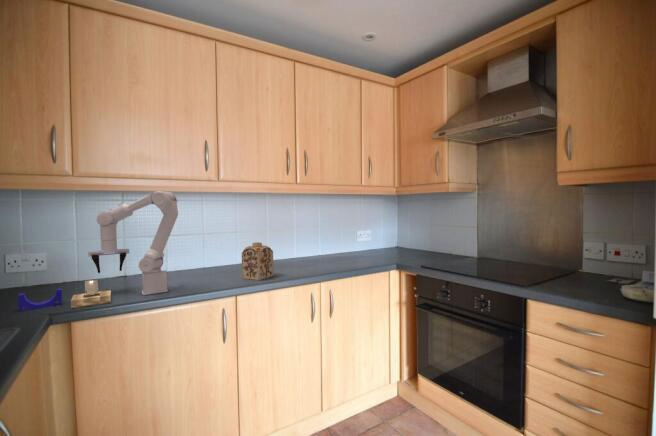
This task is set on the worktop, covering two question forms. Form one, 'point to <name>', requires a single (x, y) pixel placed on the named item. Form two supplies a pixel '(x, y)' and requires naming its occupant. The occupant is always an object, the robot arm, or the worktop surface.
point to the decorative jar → (257, 262)
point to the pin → (91, 288)
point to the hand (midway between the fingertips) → (110, 271)
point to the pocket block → (91, 299)
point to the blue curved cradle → (31, 305)
